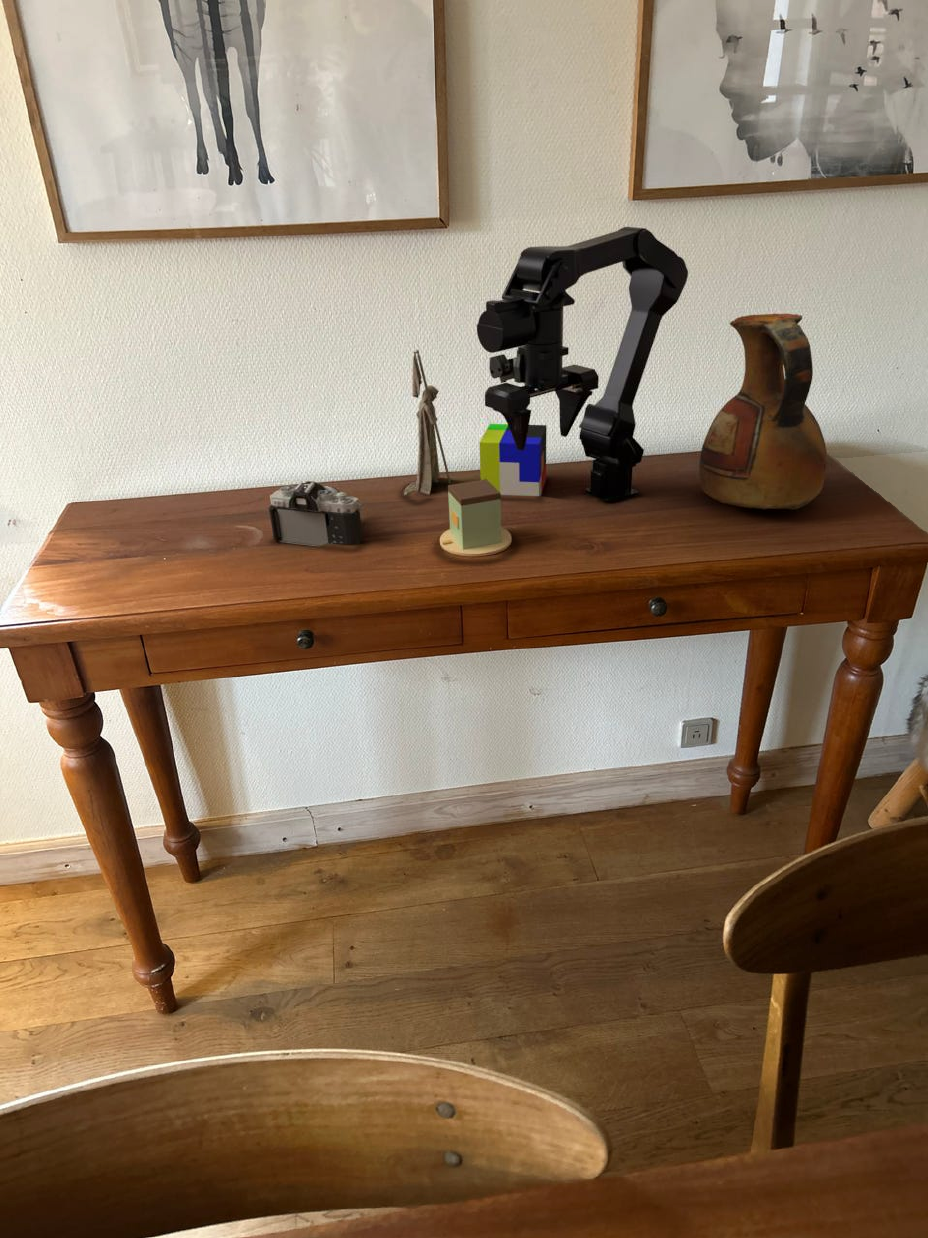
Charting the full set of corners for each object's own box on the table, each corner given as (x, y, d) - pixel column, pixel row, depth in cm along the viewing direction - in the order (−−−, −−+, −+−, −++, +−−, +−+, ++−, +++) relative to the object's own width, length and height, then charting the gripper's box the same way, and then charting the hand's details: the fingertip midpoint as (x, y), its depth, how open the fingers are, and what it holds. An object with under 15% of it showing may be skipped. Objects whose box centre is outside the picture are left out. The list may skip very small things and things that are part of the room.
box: (496, 521, 143) (495, 471, 139) (522, 549, 134) (522, 496, 130) (431, 533, 140) (427, 482, 136) (452, 561, 131) (450, 508, 127)
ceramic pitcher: (771, 472, 159) (796, 296, 144) (847, 514, 143) (884, 320, 128) (674, 489, 154) (689, 309, 139) (740, 534, 138) (766, 335, 123)
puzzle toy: (538, 500, 152) (539, 444, 147) (481, 498, 154) (479, 442, 149) (546, 479, 161) (546, 425, 156) (491, 477, 163) (490, 423, 158)
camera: (379, 531, 144) (374, 472, 139) (355, 555, 137) (349, 493, 132) (294, 521, 149) (285, 464, 144) (266, 544, 141) (257, 484, 136)
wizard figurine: (454, 500, 154) (447, 353, 141) (405, 504, 153) (393, 356, 141) (449, 479, 163) (442, 338, 150) (402, 482, 162) (391, 342, 150)
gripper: (551, 322, 142) (550, 418, 149) (459, 342, 132) (463, 445, 139) (602, 332, 134) (598, 433, 142) (509, 355, 124) (510, 462, 132)
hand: (542, 442), depth 139 cm, fingers open, 9 cm apart
